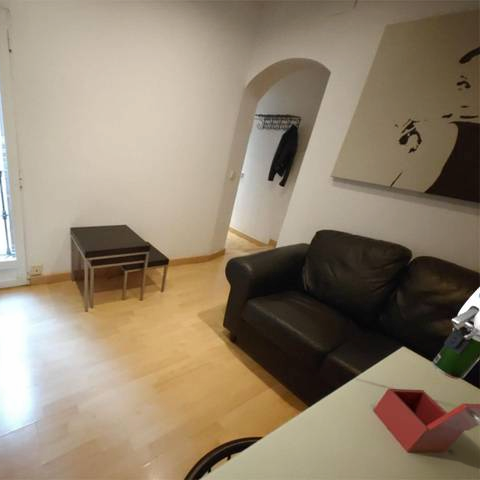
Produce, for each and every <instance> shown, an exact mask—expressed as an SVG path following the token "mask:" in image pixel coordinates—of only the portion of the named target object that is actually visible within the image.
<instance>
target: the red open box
mask: <svg viewBox="0 0 480 480" xmlns="http://www.w3.org/2000/svg"><path fill="white" fill-rule="evenodd" d="M372 411H373V413H374V414H375V415H376V416H377V417H378V419H379V420H380V421H381V422H382V423H383V425H384V426H385V428H386V429H387V430H388V431H389V432H390V433H391V435H392V436H393V437H394V438H395V439H396V441H397V442H398V444H399V445H401V447H402V448H403V449H404V450H405V452H406V453H445V452H446V451H447V450H448V449H449V448H450V447H451V446H452V445H453V444H454V442H456V441H457V440H458V438H459V437H460V436H462V434H463V433H464V432H465V431H466V430H429V429H428V427H427V425H429V424H431V423H432V422H434V421H436V420H437V419H439V418H440V417H442V416H444V415H445V414H447V413H448V412H447V411H446V410H445V409H444V408H443V407H442V406H440V404H439V403H438V402H436V400H434V399H433V398H432V397H431V395H429V394H428V393H427V392H425V390H424V389H409V388H408V389H404V388H388V389H387V390H386V391H385V393H384V394H383V395H382V397H381V399H380V400H379V402H378V403H377V404H376V406H375V407H374V408H373V410H372Z"/></svg>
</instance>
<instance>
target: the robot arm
mask: <svg viewBox="0 0 480 480" xmlns="http://www.w3.org/2000/svg"><path fill="white" fill-rule="evenodd" d="M471 322H472V323H473V324H472V323H471ZM451 323H452V329H451V330H452V331H451V333H450V334H449V335H448V336H447V338H446V339H445V341H444V342H443V344H444V345H446V346H447V347H449V348H450V349H452V350H453V351H454V352H456V353H457V354H462V353H463V351H464V350H465V349H466V348H467V346H468V345H469V344H470V343H471V342H472V341H471V340H470V339H471V338H472V337H473V336H474V335H475V334H477V333H478V332H479V331H480V287H478V288H477V290H475V292H473V294H472V295H471V296H469V298H468V300H466V302H465V303H464V304H463V306H462V307H461V308H460V310H459V311H458V314H457V316H455V317H453V318H452V319H451ZM466 325H467V326H469V327H471V328H472V329H471V330H470V331H469V332H468V330H467V328H466V327H465V326H466Z"/></svg>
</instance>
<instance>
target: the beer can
mask: <svg viewBox="0 0 480 480" xmlns="http://www.w3.org/2000/svg"><path fill="white" fill-rule="evenodd" d="M465 327H466V328H467V330H468V332H469V331H470V330H471V329H472V328H471V327H469V326H467V325H466V326H465ZM470 340H471V341H472V342H471V343H470V344H469V345H468V346H467V348H466V349H465V350H464V351H463V353H462V354H457V353H456V352H454V351H453V350H452V349H450V348H449V347H447V346H446V345H445V344H444V345H443V346H442V348H441V349H440V350H439V352H438V353H437V354H436V356H435V357H434V358H433V360H432V365H433V367H434V368H435V369H436V370H437V371H438V372H439V373H440V374H442V375H444V376H446V377H448V378H450V379H453V380H461V379H465V378H466V376H467V375H468V374H469V373H470V371H471V370H472V369H473V368H474V366H475V365H476V364H477V363H478V362H479V360H480V331H479V332H478V333H477V334H475V335H474V336H473V337H472V338H471V339H470Z"/></svg>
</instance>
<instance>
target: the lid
mask: <svg viewBox="0 0 480 480" xmlns="http://www.w3.org/2000/svg"><path fill="white" fill-rule="evenodd" d="M478 426H480V403H461V404H459V405H458V406H455V408H453V409H451V410H450V411H448V412H447V414H445V415H444V416H442V417H440V418H439V419H437V420H436V421H434V422H432V423H431V424H429V425H427V427H428V429H429V430H465V431H471V430H472V429H474V428H476V427H478Z"/></svg>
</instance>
